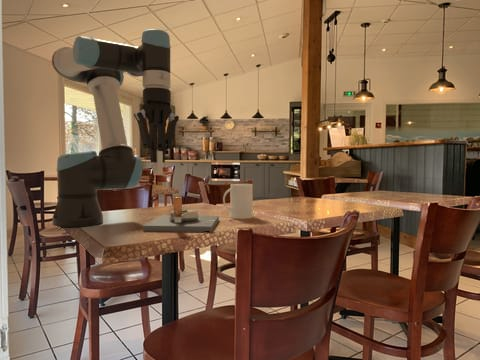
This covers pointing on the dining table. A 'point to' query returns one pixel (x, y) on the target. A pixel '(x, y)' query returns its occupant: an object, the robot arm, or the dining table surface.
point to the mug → (240, 201)
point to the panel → (181, 224)
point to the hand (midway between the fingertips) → (158, 174)
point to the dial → (182, 212)
